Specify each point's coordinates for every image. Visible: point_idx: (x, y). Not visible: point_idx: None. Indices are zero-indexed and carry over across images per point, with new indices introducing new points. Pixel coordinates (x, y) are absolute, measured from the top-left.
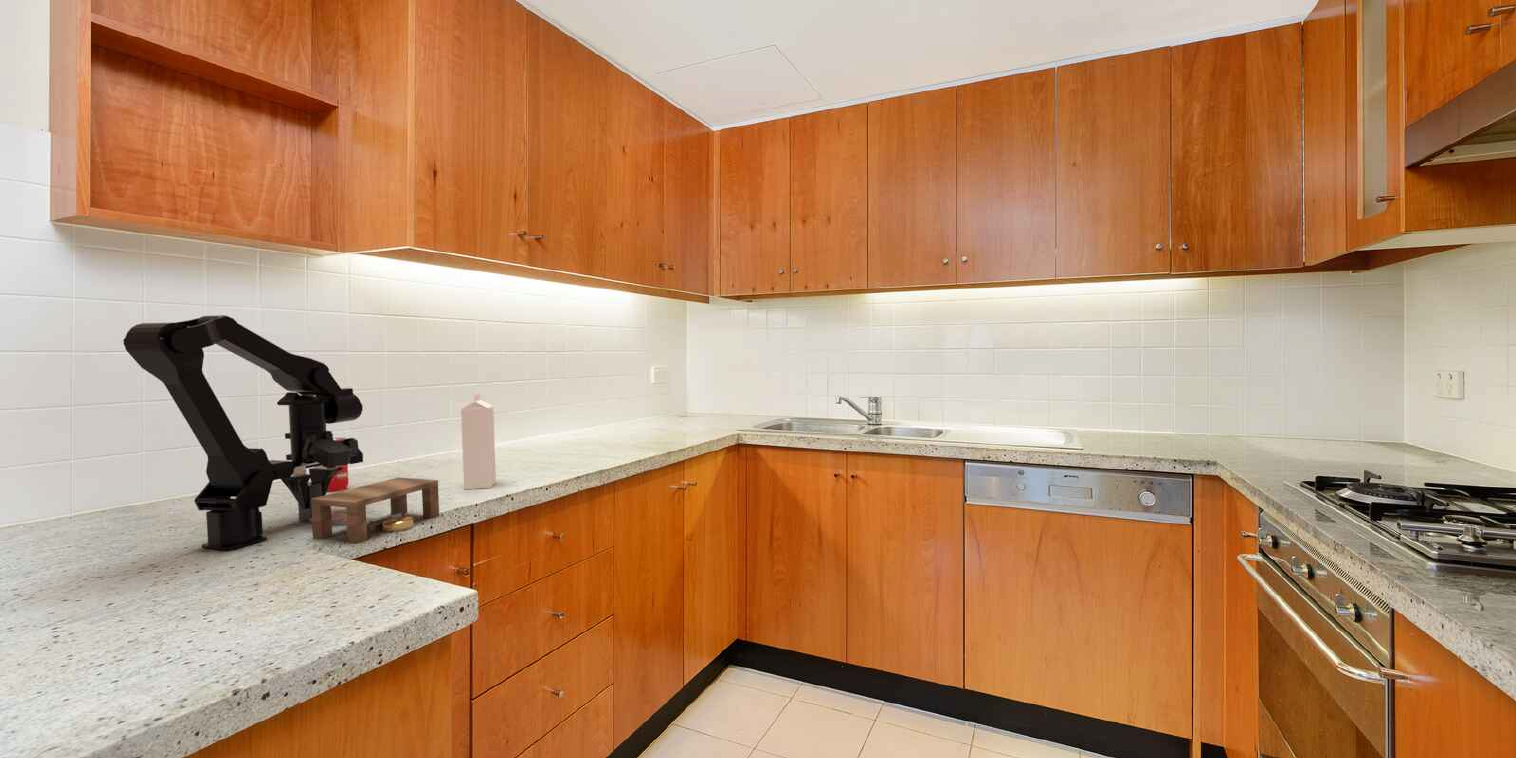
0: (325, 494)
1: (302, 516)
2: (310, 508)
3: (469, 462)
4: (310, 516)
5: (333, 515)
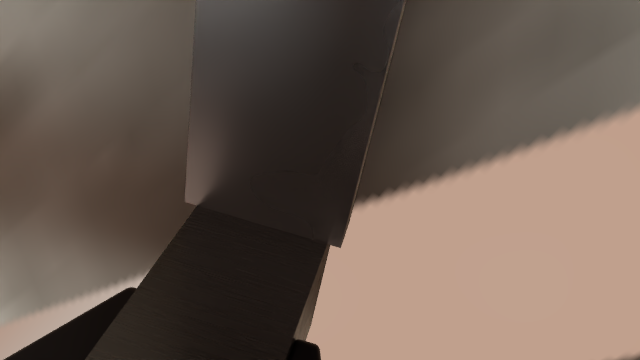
0: (27, 349)
1: (307, 325)
2: (297, 311)
3: None
4: (324, 252)
5: (218, 62)
